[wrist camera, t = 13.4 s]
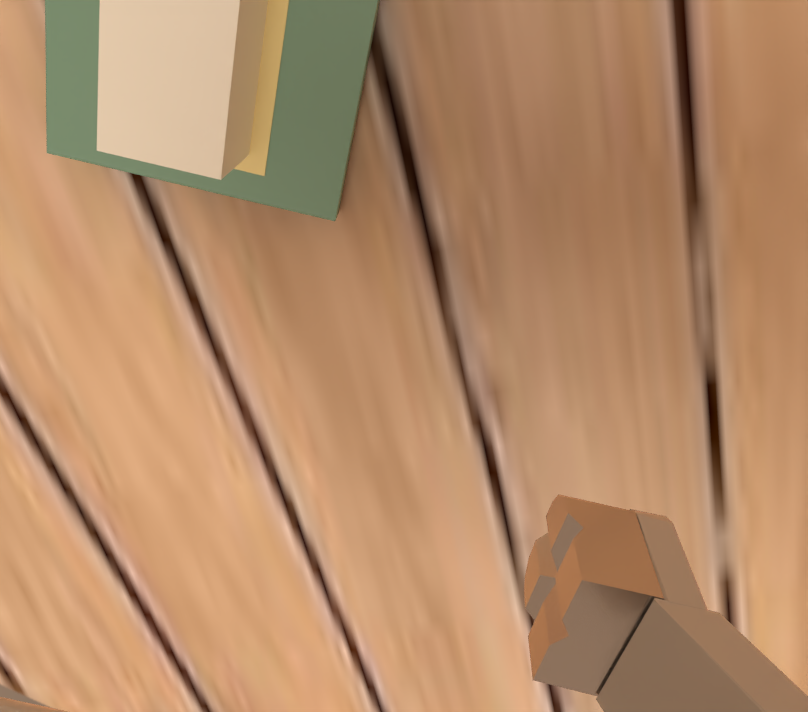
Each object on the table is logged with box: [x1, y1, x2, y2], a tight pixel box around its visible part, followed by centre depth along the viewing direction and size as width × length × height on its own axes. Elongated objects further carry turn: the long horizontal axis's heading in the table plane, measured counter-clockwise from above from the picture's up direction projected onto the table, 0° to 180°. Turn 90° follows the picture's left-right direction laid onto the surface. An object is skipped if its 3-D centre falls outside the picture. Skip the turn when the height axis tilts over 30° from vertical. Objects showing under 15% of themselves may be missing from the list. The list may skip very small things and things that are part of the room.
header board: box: [45, 0, 380, 221], centre depth 28 cm, size 14×16×5 cm
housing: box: [97, 0, 268, 180], centre depth 27 cm, size 5×11×5 cm, turn 167°
